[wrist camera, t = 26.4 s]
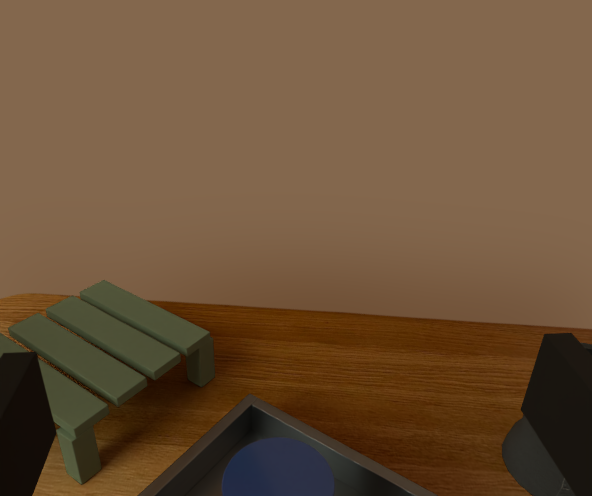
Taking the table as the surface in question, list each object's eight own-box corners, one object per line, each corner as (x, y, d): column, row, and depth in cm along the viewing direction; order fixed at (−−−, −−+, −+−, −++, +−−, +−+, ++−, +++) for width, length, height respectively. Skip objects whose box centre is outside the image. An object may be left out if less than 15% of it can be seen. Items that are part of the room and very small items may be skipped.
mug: (493, 418, 51) (521, 323, 45) (594, 432, 50) (634, 336, 44) (519, 534, 40) (558, 428, 35) (647, 556, 39) (708, 450, 34)
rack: (-23, 400, 51) (-40, 351, 48) (113, 321, 62) (107, 278, 60) (81, 485, 43) (69, 432, 40) (215, 376, 55) (212, 329, 52)
